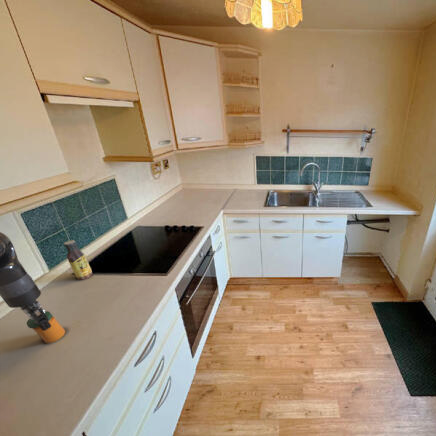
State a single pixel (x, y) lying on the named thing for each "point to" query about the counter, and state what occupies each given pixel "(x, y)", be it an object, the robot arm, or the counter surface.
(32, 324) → the lid
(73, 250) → the sauce bottle
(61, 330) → the honey jar
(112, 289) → the counter surface
